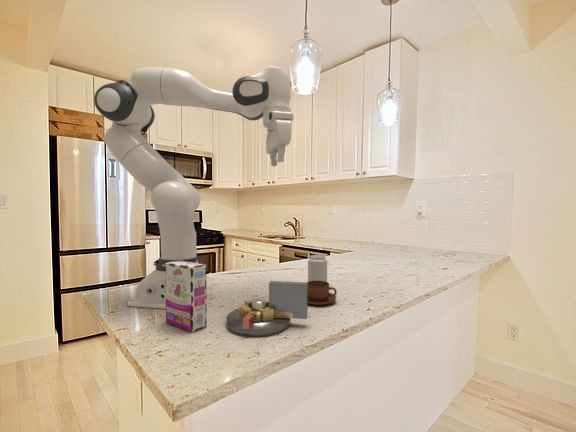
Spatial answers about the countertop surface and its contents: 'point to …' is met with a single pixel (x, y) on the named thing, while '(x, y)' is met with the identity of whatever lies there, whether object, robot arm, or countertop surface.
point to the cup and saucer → (320, 293)
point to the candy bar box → (186, 295)
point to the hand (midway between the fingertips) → (277, 164)
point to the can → (317, 268)
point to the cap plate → (255, 323)
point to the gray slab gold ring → (281, 302)
